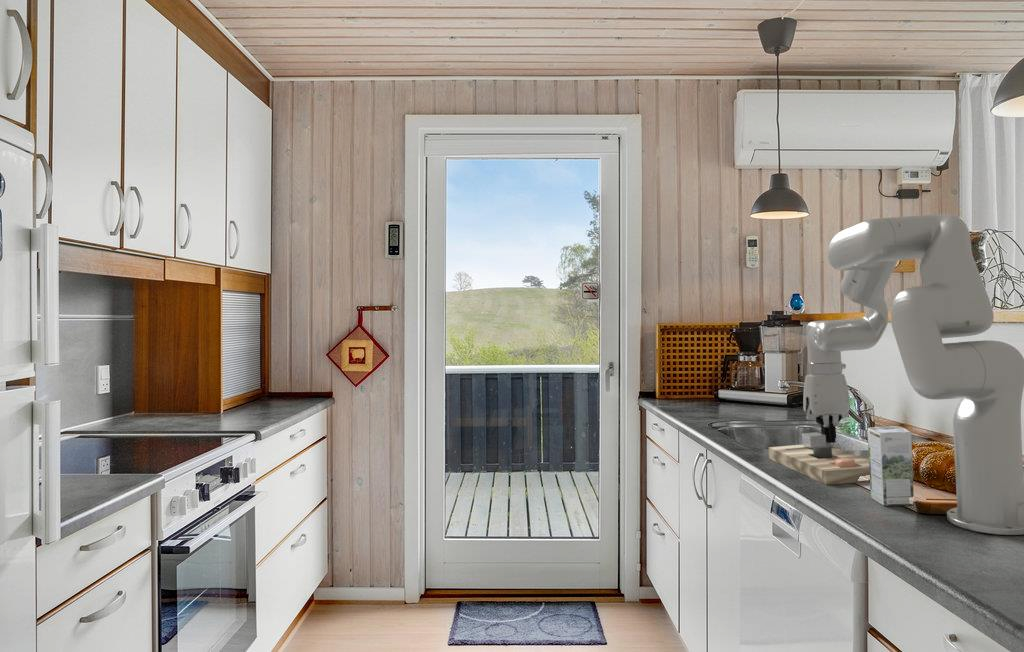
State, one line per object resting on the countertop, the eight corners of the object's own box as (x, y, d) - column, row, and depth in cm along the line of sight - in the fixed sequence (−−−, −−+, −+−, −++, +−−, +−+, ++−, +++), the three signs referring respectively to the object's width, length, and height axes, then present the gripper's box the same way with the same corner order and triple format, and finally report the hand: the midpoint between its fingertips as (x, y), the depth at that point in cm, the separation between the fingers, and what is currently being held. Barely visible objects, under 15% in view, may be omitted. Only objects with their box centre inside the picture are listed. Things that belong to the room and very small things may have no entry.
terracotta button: (859, 475, 144) (858, 461, 144) (842, 477, 144) (841, 463, 144) (848, 471, 148) (848, 457, 148) (832, 473, 148) (831, 459, 148)
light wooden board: (887, 479, 142) (886, 465, 142) (826, 484, 141) (825, 471, 141) (821, 454, 168) (820, 442, 168) (769, 458, 167) (768, 447, 167)
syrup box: (900, 497, 130) (896, 424, 129) (915, 506, 124) (911, 430, 124) (870, 498, 130) (866, 426, 130) (884, 507, 124) (880, 431, 124)
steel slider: (826, 447, 162) (825, 435, 162) (810, 448, 162) (810, 436, 162) (817, 443, 166) (816, 432, 166) (802, 445, 166) (801, 433, 166)
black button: (835, 461, 153) (835, 447, 153) (819, 462, 153) (818, 449, 152) (826, 457, 157) (825, 444, 157) (810, 458, 157) (809, 445, 156)
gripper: (844, 366, 168) (848, 436, 169) (789, 370, 167) (793, 441, 167) (862, 368, 161) (866, 442, 161) (804, 372, 160) (808, 447, 160)
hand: (829, 441), depth 164 cm, fingers closed
